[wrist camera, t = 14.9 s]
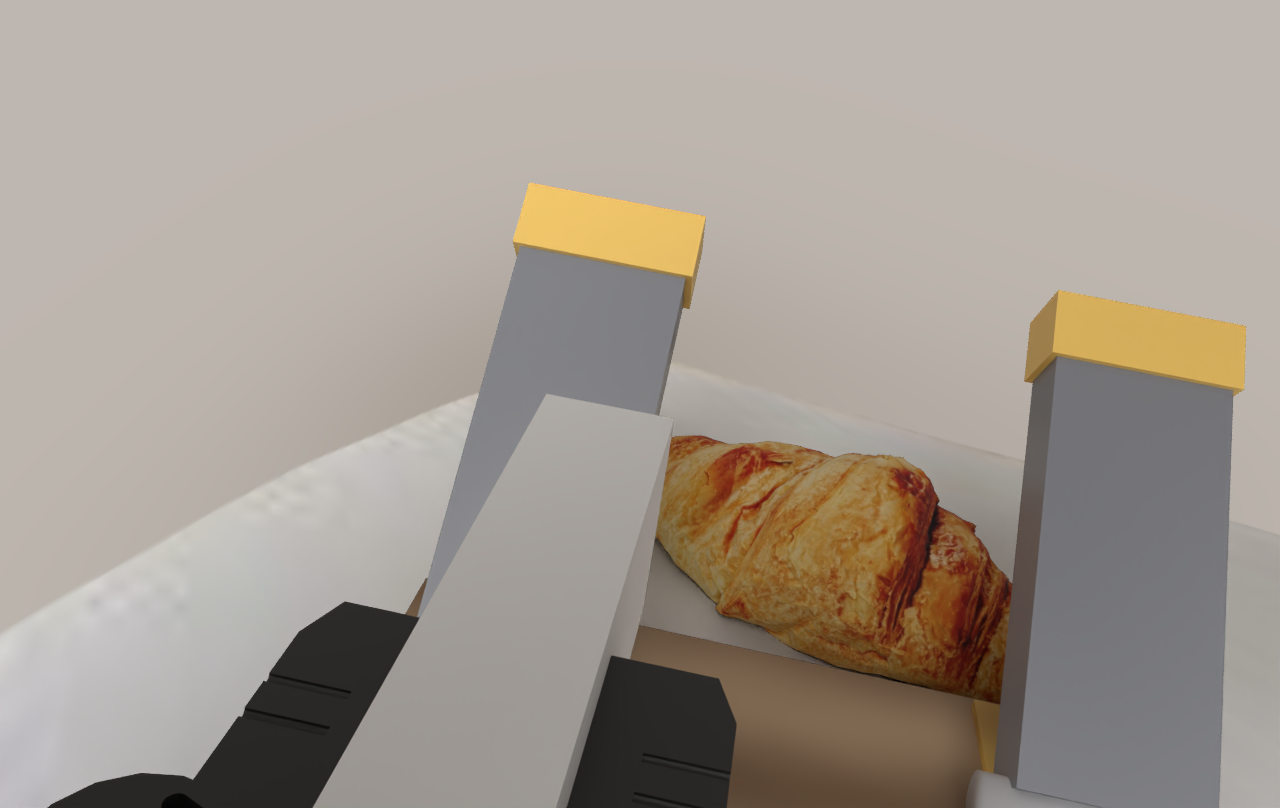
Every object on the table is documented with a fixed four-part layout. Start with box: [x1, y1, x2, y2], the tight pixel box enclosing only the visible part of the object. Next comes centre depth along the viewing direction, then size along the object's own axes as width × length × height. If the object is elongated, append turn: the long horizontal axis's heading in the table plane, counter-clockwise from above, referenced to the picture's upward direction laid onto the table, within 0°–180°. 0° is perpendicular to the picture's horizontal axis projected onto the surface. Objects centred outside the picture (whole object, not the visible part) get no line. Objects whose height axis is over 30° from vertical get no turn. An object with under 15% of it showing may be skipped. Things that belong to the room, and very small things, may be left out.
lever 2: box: [965, 290, 1246, 808], centre depth 30 cm, size 2×6×15 cm
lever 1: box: [417, 183, 706, 618], centre depth 31 cm, size 2×6×15 cm
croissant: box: [655, 436, 1012, 704], centre depth 42 cm, size 21×10×8 cm, turn 53°
